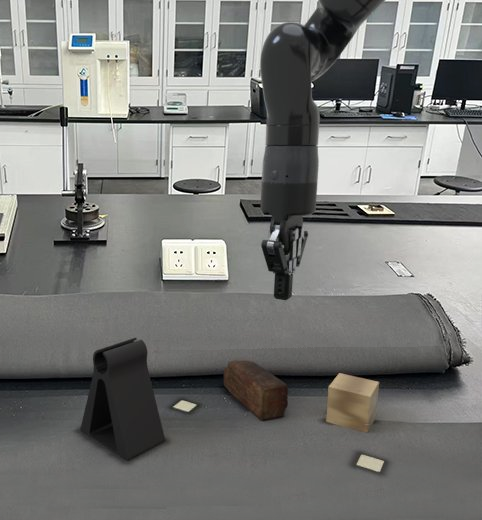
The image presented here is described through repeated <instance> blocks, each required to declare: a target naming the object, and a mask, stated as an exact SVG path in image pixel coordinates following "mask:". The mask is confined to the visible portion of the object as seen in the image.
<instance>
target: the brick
mask: <svg viewBox="0 0 482 520" xmlns="http://www.w3.org/2000/svg"><path fill="white" fill-rule="evenodd" d="M223 386H224V387H225V388H226V390H227V391H228V392H229V393H230V395H231V396H233V397H234V398H235V399H236V400H237V401H238V402H239V403H241V404H242V405H243V406H244V407H245V408H246V409H247V410H249V412H251V413H252V414H253V415H254V416H256V417H257V418H258V419H259V420H260V421H262V422H263V421H268V420H274V419H278V418H279V419H280V418H284V417H285V412H286V409H287V408H288V405H289V402H288V401H289V400H288V398H289V397H288V394H289V387H288V385H287V384H286V383H285V382H284V381H282V379H279V378H278V377H277V376H275V375H274V374H272V373H271V372H269V371H268V370H266V369H265V368H263V367H262V366H260V365H259V364H257V363H256V362H254V361H251V360H245V359H244V360H243V359H242V360H239V359H237V360H236V359H235V360H231V361H229V362H228V363H227V367H225V368H224V370H223Z"/></svg>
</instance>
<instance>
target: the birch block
mask: <svg viewBox="0 0 482 520" xmlns="http://www.w3.org/2000/svg"><path fill="white" fill-rule="evenodd" d="M379 390H380V381H376V380H372V379H369V378H368V379H367V378H363V377H360V376H359V377H358V376H354V375H350V374H346V373H341V372H339V373H338V374H337V376H336V377H335V378H334V379H333V381H332V382H331V383H329V385H328V390H327V405H326V416H325V417H326V419H325V422H326V423H328V424H332V425H337V426H340V427H343V428H347V429H351V430H354V431H358V432H361V433H365V434H368V433H369V431H370V429H371V427H372V426H373V423H374V421H376V418H377V410H378V399H379ZM365 424H369V425H365Z"/></svg>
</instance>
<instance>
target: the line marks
mask: <svg viewBox="0 0 482 520" xmlns="http://www.w3.org/2000/svg"><path fill="white" fill-rule="evenodd" d="M195 407H197V404H196V403H192V402H189V401H186V400H183V399H182V400H180V401H179V402H177V403H176V404H175V405H174V406H172V408H174V409H177V410H179V411H183V412H185V413H189V412H190V411H192V410H193V409H195ZM384 463H385V461H384V460H381V459H378V458H375V457H372V456H368V455H365V454H360V457H359V459H358V460H357V463H356V466H358V467H362V468H365V469H368V470H371V471H374V472H377V473H380V472H381V470H382V468H383V466H384Z"/></svg>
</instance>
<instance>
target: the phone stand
mask: <svg viewBox="0 0 482 520" xmlns="http://www.w3.org/2000/svg"><path fill="white" fill-rule="evenodd" d="M92 365H93V371H92V372H93V373H92V378H91V382H90V386H89V390H88V395H87V399H86V402H85V403H86V404H85V408H84V412H83V416H82V419H81V421H82V422H81V425H80V428H79V429H80V432H81V433H83V434H85V435H86V436H88V437H89V438H91V439H92V440H94V441H95V442H97V443H98V444H100V445H101V446H103V447H105V448H107V449H108V450H109V451H111V452H112V453H114V454H116V455H118V456H119V457H121V459H124V460H125V461H126V462H129V461H130V460H132V459H134V458H136V457H138V456H140V455H141V454H143V453H145V452H147V451H149V450H151V449H152V448H153V449H154V448H155V447H157V446H159V445H160V444H162V443H164V442H166V437H165V433H164V429H163V426H162V425H163V424H162V421H161V417H160V413H159V409H158V405H157V400H156V397H155V392H154V388H153V384H152V379H151V375H150V372H149V368H148V347H147V345H146V343H145V342H144V340H143V339H142V338H141V339H137V337H133V338H130V339H127V340H124V341H121V342H117V343H115V344H112V345H108V346H106V347H103V348H100V349H97V350H95V351H94V352H93V355H92Z"/></svg>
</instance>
